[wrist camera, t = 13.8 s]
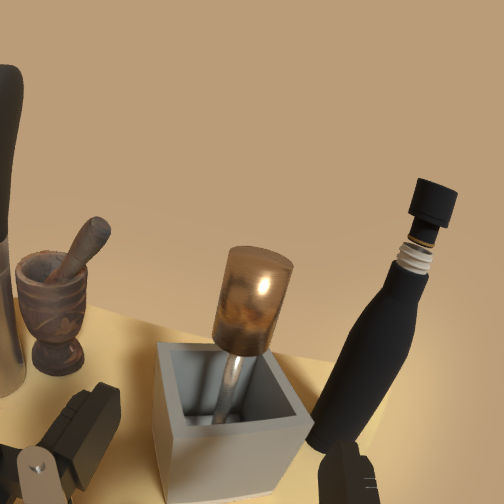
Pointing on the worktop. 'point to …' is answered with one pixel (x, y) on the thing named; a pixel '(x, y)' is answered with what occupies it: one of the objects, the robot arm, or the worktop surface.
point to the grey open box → (222, 425)
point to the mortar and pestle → (58, 298)
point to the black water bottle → (381, 328)
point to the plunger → (245, 318)
